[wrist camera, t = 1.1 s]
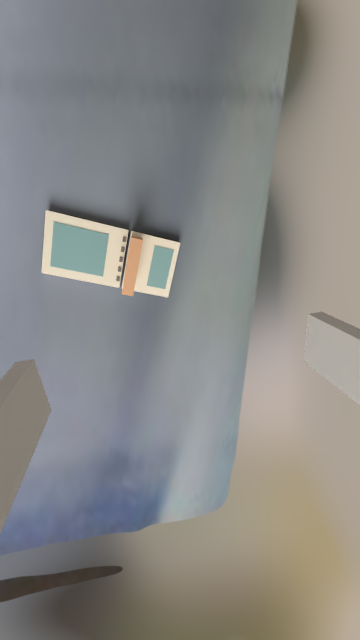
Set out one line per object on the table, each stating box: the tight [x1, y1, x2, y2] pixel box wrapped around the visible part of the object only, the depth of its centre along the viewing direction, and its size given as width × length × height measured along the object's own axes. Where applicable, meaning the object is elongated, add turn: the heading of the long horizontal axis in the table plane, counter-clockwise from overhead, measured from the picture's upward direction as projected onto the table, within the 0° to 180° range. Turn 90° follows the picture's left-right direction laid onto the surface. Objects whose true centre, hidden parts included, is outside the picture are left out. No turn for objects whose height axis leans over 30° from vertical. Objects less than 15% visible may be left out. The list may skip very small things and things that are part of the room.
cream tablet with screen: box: [42, 210, 129, 288], centre depth 30 cm, size 9×7×1 cm
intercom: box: [122, 231, 180, 297], centre depth 30 cm, size 6×7×6 cm
